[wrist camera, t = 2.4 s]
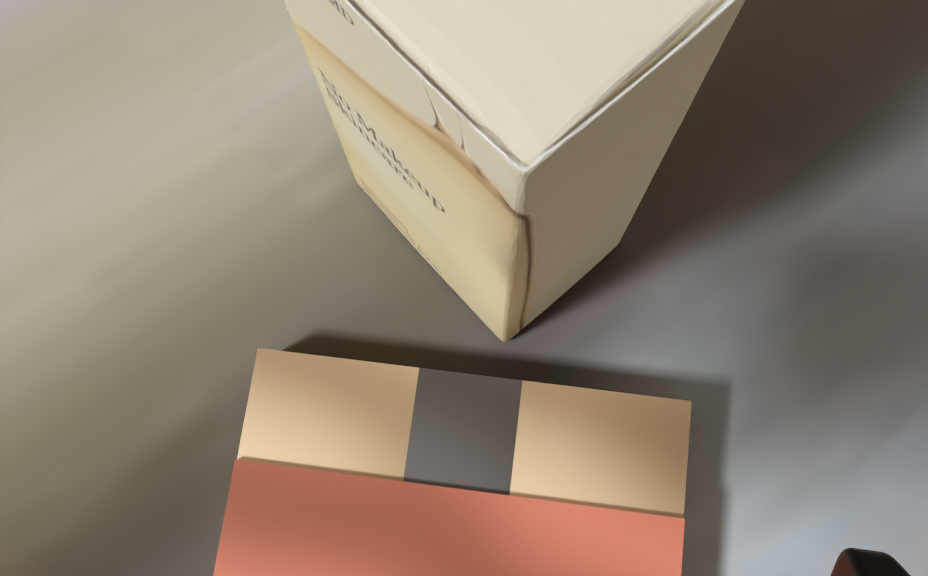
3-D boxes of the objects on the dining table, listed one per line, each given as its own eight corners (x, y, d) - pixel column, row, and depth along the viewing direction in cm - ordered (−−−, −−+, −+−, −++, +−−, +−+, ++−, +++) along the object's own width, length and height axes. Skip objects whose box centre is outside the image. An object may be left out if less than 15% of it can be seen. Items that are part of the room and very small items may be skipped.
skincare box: (353, 182, 24) (200, -135, 12) (475, 80, 24) (446, -321, 12) (511, 353, 22) (514, 187, 11) (636, 240, 23) (773, -37, 11)
